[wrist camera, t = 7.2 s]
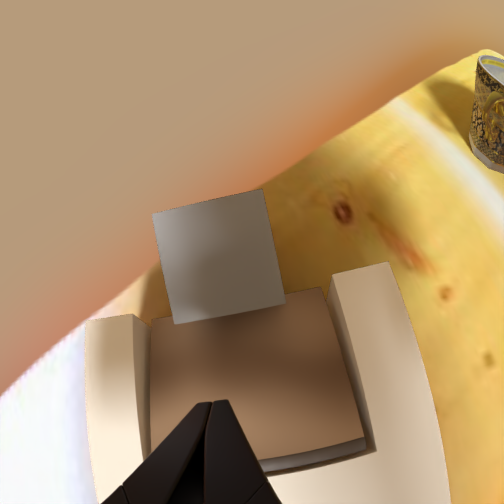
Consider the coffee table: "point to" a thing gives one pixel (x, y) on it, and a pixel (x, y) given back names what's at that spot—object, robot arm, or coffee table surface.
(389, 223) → the coffee table surface
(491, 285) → the coffee table surface
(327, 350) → the trapdoor
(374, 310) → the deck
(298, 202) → the coffee table surface
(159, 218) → the stone
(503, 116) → the ceramic cup
